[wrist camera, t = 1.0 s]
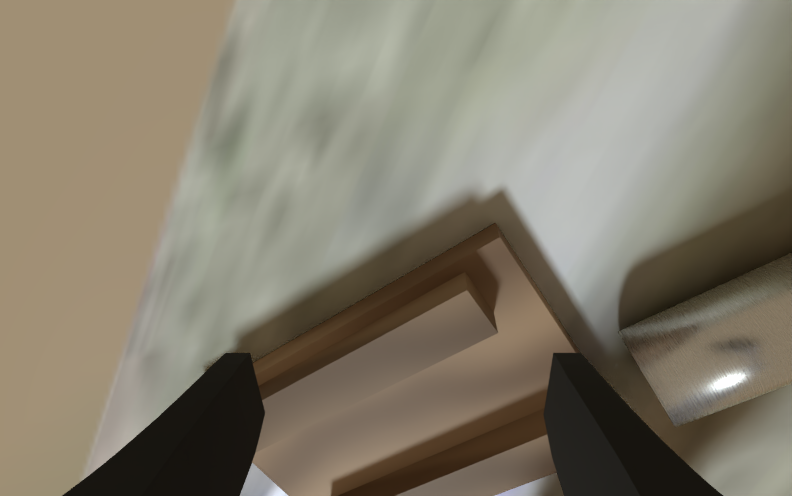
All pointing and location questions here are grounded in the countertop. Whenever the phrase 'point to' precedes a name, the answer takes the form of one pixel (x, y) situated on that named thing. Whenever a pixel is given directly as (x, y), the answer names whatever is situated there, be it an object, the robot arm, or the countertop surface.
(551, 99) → the countertop surface
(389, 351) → the cradle block
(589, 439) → the robot arm
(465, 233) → the countertop surface
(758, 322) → the steel axle
